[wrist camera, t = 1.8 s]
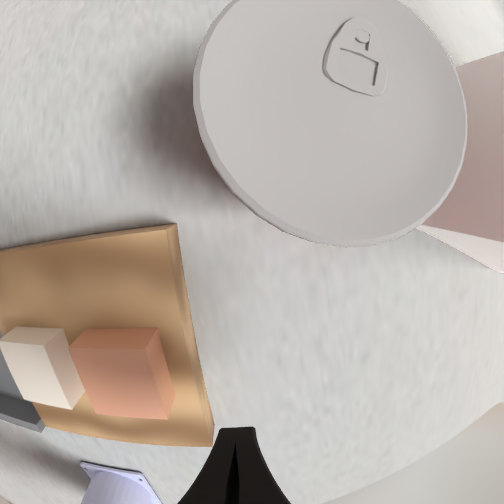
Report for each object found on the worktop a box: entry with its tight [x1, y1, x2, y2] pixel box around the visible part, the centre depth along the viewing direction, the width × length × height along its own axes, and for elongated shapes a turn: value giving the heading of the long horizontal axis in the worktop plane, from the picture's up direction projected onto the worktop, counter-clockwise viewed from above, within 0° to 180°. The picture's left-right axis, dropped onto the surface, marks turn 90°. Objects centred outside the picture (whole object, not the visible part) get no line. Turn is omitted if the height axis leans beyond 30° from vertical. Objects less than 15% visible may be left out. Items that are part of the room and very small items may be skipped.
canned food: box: [193, 0, 468, 247], centre depth 11 cm, size 8×8×11 cm
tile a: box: [68, 328, 175, 420], centre depth 15 cm, size 5×5×2 cm
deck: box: [0, 224, 214, 447], centre depth 18 cm, size 16×16×2 cm
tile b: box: [0, 326, 85, 410], centre depth 15 cm, size 5×5×2 cm
